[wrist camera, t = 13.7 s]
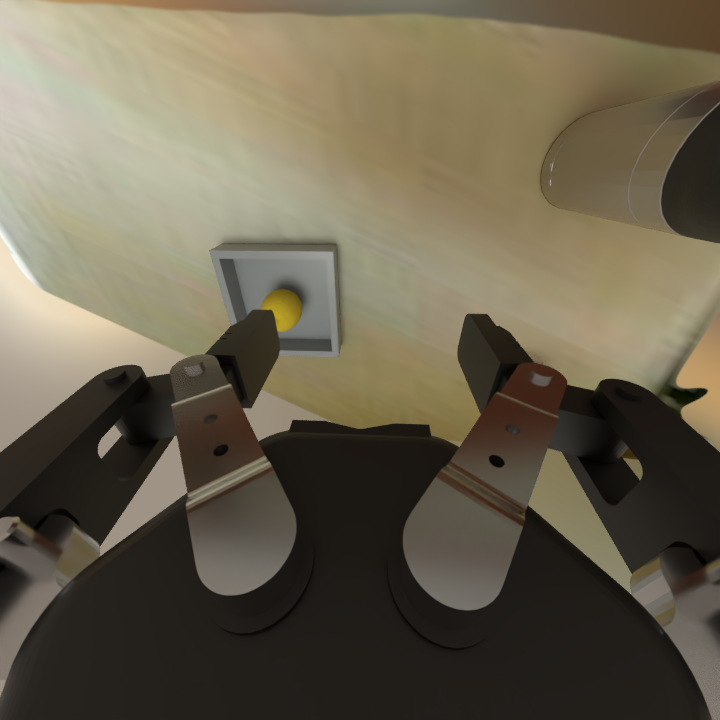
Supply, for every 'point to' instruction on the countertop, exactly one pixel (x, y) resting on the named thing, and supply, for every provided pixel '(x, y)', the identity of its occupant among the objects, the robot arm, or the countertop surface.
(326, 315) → the box
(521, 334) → the countertop surface
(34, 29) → the countertop surface
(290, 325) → the lemon
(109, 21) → the countertop surface
